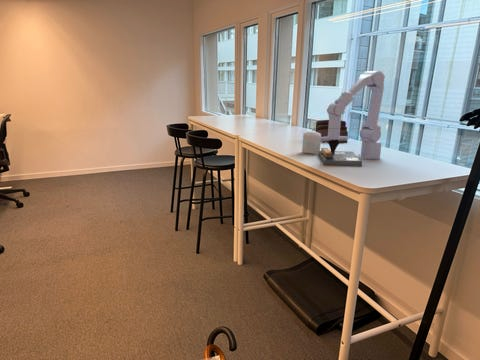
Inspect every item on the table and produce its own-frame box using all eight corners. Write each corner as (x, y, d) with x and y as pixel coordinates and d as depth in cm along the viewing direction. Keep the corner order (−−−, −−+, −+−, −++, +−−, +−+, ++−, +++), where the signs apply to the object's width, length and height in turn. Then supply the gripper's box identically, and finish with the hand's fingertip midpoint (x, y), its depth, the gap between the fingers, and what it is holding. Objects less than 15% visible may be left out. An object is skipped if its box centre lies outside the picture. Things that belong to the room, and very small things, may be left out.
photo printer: (321, 153, 189) (322, 131, 186) (318, 155, 186) (319, 132, 182) (303, 151, 195) (305, 130, 191) (300, 152, 191) (302, 131, 188)
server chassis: (352, 156, 183) (352, 151, 182) (361, 166, 162) (362, 160, 161) (318, 155, 185) (318, 150, 184) (323, 165, 164) (324, 160, 163)
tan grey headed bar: (320, 151, 181) (320, 147, 181) (327, 151, 181) (327, 147, 180) (326, 157, 167) (326, 153, 166) (333, 157, 167) (333, 153, 166)
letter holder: (314, 140, 232) (316, 119, 227) (344, 140, 230) (346, 119, 226) (316, 142, 222) (317, 121, 218) (347, 143, 220) (349, 121, 216)
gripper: (344, 126, 172) (342, 152, 176) (317, 127, 169) (315, 153, 173) (350, 128, 165) (348, 155, 169) (322, 129, 163) (321, 156, 167)
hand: (332, 154), depth 171 cm, fingers closed, pressing on tan grey headed bar
